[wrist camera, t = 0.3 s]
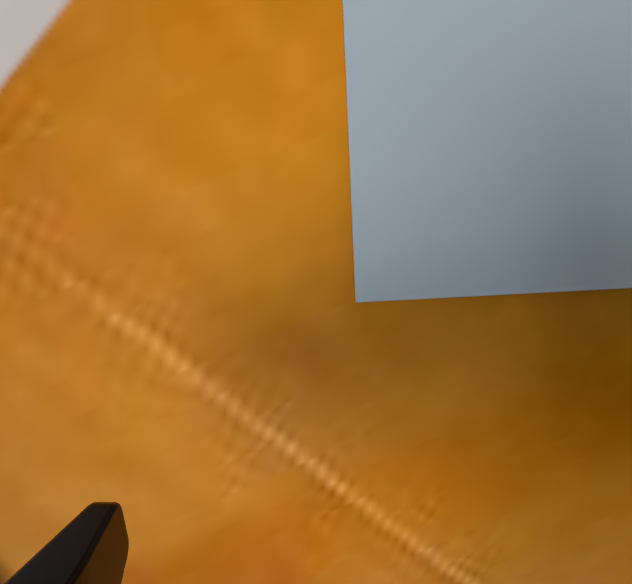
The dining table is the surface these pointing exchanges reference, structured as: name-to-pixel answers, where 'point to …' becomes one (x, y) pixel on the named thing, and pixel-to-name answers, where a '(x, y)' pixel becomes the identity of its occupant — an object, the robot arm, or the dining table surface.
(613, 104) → the rubber mat
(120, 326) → the dining table surface
